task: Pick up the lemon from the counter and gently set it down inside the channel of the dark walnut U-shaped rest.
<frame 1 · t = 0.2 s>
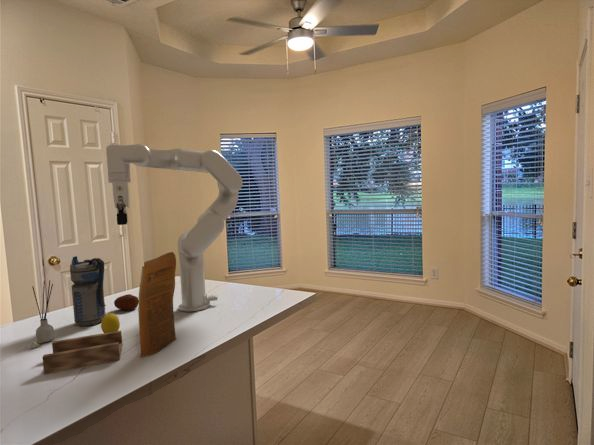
hand: (122, 223, 137), 36 cm above the counter, tool pointing down, fingers open, 9 cm apart
u rest: (86, 358, 104), on the counter
pancake mix bag: (161, 346, 111), on the counter
reed diffuser: (47, 343, 118), on the counter
potato: (126, 310, 150), on the counter
beverage bottle: (92, 323, 136), on the counter
lemon: (111, 336, 121), on the counter
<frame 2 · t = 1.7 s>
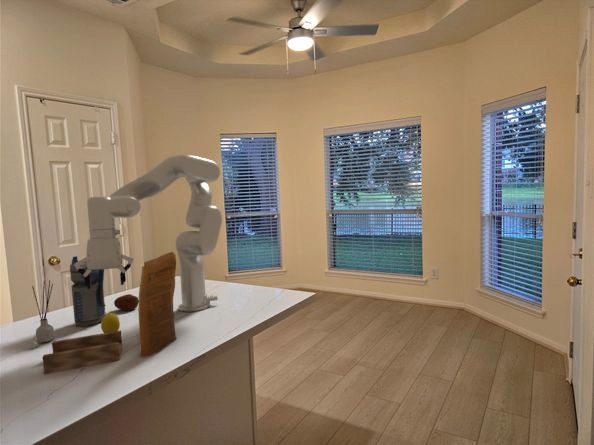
hand: (106, 286, 119), 17 cm above the counter, tool pointing down, fingers open, 9 cm apart
nothing on the counter moved.
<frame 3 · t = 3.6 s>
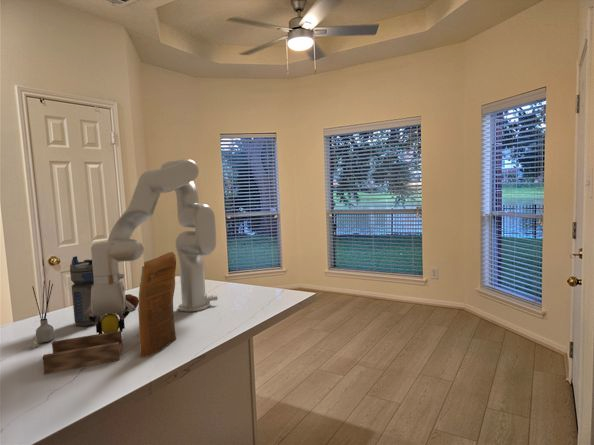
hand: (111, 332, 121), 1 cm above the counter, tool pointing down, fingers closed on lemon, 5 cm apart
lemon: (111, 336, 121), on the counter, touching gripper
everything else where it was.
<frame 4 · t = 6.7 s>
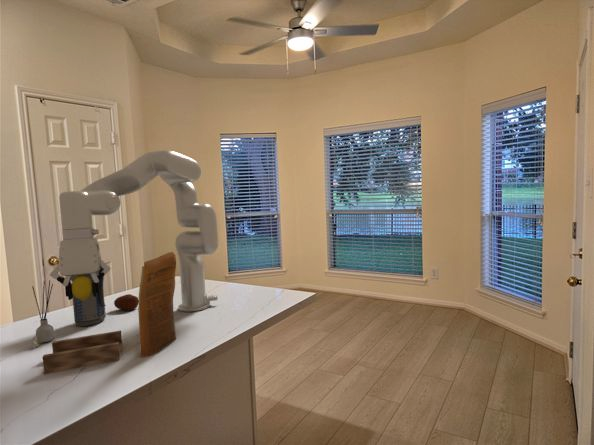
hand: (83, 296, 104), 18 cm above the counter, tool pointing down, fingers closed on lemon, 5 cm apart
lemon: (83, 301, 104), point 16 cm above the counter, touching gripper
everything else where it was.
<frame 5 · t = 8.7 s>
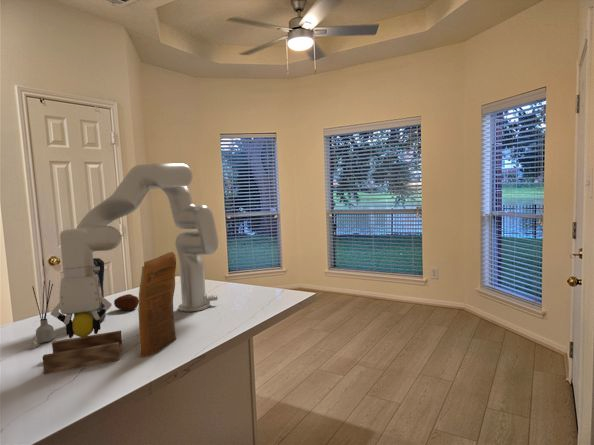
hand: (84, 333, 104), 7 cm above the counter, tool pointing down, fingers closed on lemon, 5 cm apart
lemon: (84, 338, 104), point 6 cm above the counter, touching gripper
everything else where it was.
when the fingers open (4 cm above the counter, at t = 9.9 s): lemon drops 1 cm, resting on u rest.
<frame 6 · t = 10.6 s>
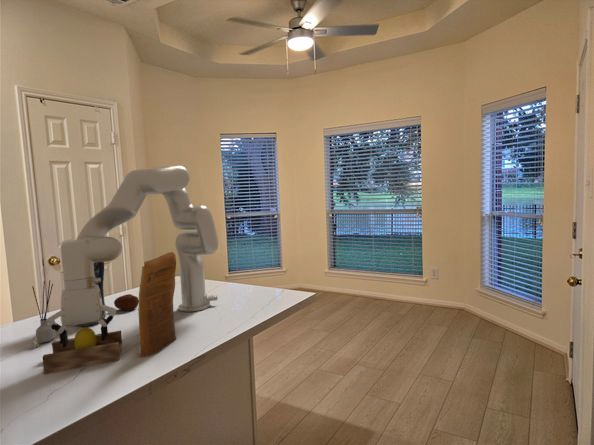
hand: (85, 342, 104), 5 cm above the counter, tool pointing down, fingers open, 9 cm apart
lemon: (86, 354, 104), point 1 cm above the counter, touching u rest
everything else where it was.
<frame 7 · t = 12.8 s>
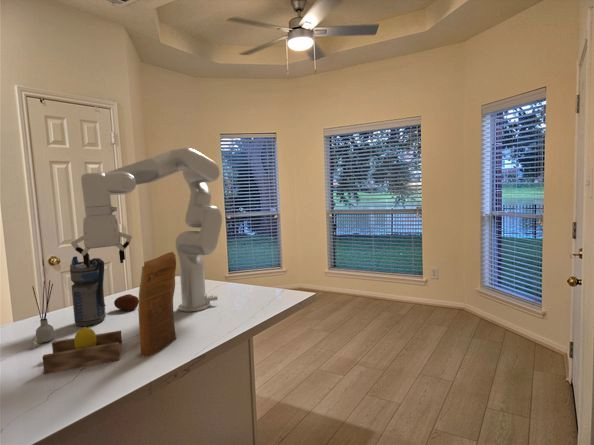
hand: (105, 264, 117), 25 cm above the counter, tool pointing down, fingers open, 9 cm apart
nothing on the counter moved.
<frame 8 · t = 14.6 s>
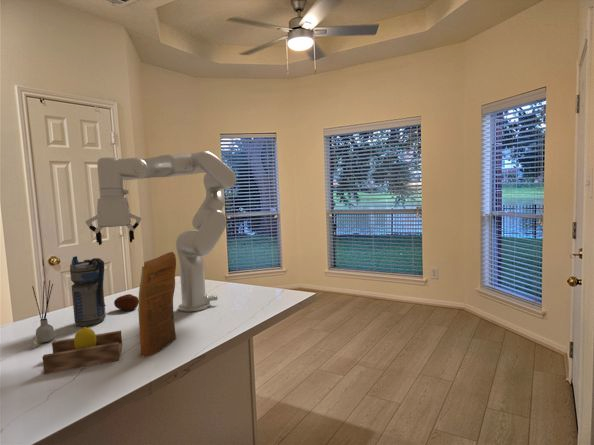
hand: (116, 243, 126), 30 cm above the counter, tool pointing down, fingers open, 9 cm apart
nothing on the counter moved.
at the end: lemon inside the target area on the u rest (0.1 cm from its centre), point 1.0 cm above the u rest's base; the gripper is holding nothing; lemon touching u rest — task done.
